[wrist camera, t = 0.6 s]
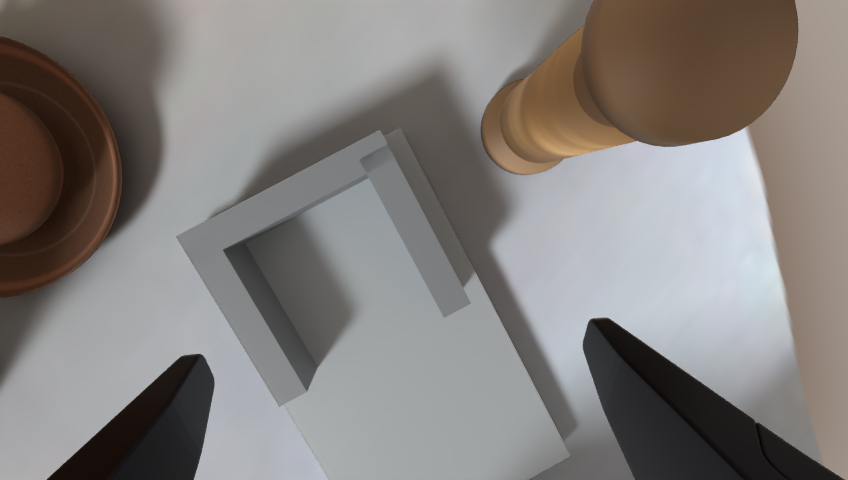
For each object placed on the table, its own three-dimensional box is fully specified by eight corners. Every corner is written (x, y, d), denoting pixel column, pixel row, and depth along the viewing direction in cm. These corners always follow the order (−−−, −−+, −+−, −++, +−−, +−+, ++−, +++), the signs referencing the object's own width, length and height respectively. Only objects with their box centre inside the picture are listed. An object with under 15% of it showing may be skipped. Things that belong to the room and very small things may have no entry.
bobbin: (582, 149, 23) (827, 83, 10) (505, 190, 23) (652, 177, 10) (544, 67, 22) (751, -113, 10) (465, 109, 22) (565, -16, 9)
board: (562, 443, 24) (595, 490, 20) (379, 544, 24) (376, 612, 20) (399, 130, 22) (401, 115, 18) (195, 238, 22) (151, 246, 18)
